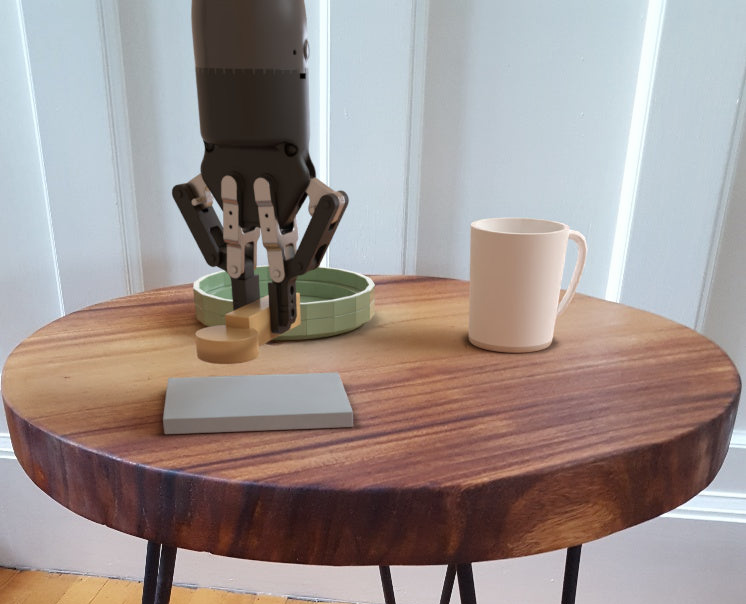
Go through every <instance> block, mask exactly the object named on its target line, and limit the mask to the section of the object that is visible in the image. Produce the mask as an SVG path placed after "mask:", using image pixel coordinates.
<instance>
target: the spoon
mask: <svg viewBox="0 0 746 604" xmlns="http://www.w3.org/2000/svg"><path fill="white" fill-rule="evenodd" d="M296 303H297V307H296V308H297V317H296V321H295V323H293V324H291V328H290V329H289V330H291V329H292V328H294V327H296V326H298V325H300V324H301V317H300V293H296ZM225 322H226V325H218V326H211V327H209V326H207V327H203V328H201V329H198V330H197V331H195V334H194V336H195V346H196V347H195V348H196V356H197V359H198V360H200V361H202V362H205V363H207V364H208V363H209V364H215V365H216V364H217V365H236V364H243V363H247V362H251V361H253V360H256V359H257V358H258V357H259V355H260V347H261V346H263V345H265V344H266V343H267V344H268V342H270V341H273V340H272V339H274V338H276V337H278V336H280V335H281V334H275V333H272V331H271V321H270V308H269V296H268V295H267V296H265V297H263V298H261V299H258V300H256V301H254V302H252V303H250V304H247V305H245V306H243V307H241V308H239V309H237V310H234V311H232V312H230V313H228V314H226V315H225ZM289 330H288V331H289ZM286 332H287V331H286ZM284 333H285V332H284Z"/></svg>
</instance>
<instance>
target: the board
mask: <svg viewBox="0 0 746 604" xmlns="http://www.w3.org/2000/svg"><path fill="white" fill-rule="evenodd" d="M165 392H166V393H165V400H164V407H163V415H162V422H163V423H162V425H163V432H164V435H186V434H188V435H189V434H209V433H211V434H212V433H213V434H214V433H234V432H261V431H263V432H264V431H285V430H286V431H287V430H288V431H289V430H313V429H336V428H337V429H338V428H354V411H353V407H352V405H351V403H350V400H349V397H348V395H347V392H346V389H345V386H344V384H343V380H342V378H341V376H340V373H339V372H337V371H335V372H309V373H308V372H307V373H305V372H304V373H278V374H277V373H275V374H274V373H273V374H247V375H246V374H245V375H218V376H217V375H216V376H213V375H211V376H185V377H184V376H183V377H181V376H180V377H168V378H167V383H166V391H165Z"/></svg>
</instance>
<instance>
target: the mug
mask: <svg viewBox="0 0 746 604" xmlns="http://www.w3.org/2000/svg"><path fill="white" fill-rule="evenodd" d="M469 233H470V236H469V237H470V241H469V243H470V244H469V290H468V291H469V292H468V293H469V295H468V340H469V342H470V343H471V344H472V345H473V346H475V347H477V348H480V349H483V350H487V351H492V352H498V353H499V352H500V353H512V354H513V353H514V354H515V353H517V354H518V353H519V354H522V353H532V352H533V353H534V352H538V351H542V350H545V349H547V348H549V347H550V345H551V344H552V342H553V338H554V331H555V325H556V319H558V318H559V317H560V316H561V315H562V314H563V313H564V312H565V311H566V310H567V308H568V307H569V304H570V303H571V301H572V300H573V298H574V296H575V294H576V291H577V289H578V287H579V284H580V282H581V278H582V277H583V272H584V269H585V267H586V262H587V258H588V257H587V255H588V251H589V250H588V245H587V240H586V239H587V238H586V237H585V236H584V235H583V234H582V233H581V232H580V231H577V230H574V229H571V227H570V226H569V225H568V224H566V223H564V222H560V221H557V220H549V219H543V218H535V217H534V218H532V217H492V218H491V217H490V218H483V219H478V220H474V221H473V222H471V223H470V231H469ZM569 240H571V241H573V242H574V243H575V244H576V246H577V258H576V263H575V266H574V270H573V273H572V276H571V280H570V281H569V284H568V287H567V289H566V291H565V294H564V295H563V297H562V299H561V300H560V302H559V298H560V294H561V288H562V281H563V275H564V269H565V262H566V257H567V250H568V242H569Z"/></svg>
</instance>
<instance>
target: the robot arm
mask: <svg viewBox="0 0 746 604" xmlns="http://www.w3.org/2000/svg"><path fill="white" fill-rule="evenodd" d="M190 20H191V21H190V22H191V23H190V24H191V36H192V37H191V38H192V47H193V49H192V50H193V61H194V73H195V85H196V95H197V96H196V97H197V107H198V120H199V121H198V122H199V133H200V136H201V139H202V143H203V145H204V151H203V157H202V161H201V163H200V166H199V167H200V169H199V170H200V173H199V174H197V175H195V177H193V178H192V179H190V180H189V181H187V182H183V183H179V184H175V185H174V186H173V187H172V189H171V196H172V198H173V200H174V202H175V204H176V206H177V208H178V211H179V212H180V214H181V216H182V218H183V220H184V221H185V223H186V226H187V228H188V229H189V232H190V233H191V235H192V238H193V239H194V241H195V243H196V245H197V247H198V249H199V251H200V253H201V255H202V256H203V258H204V260H205V262H206V264H207V265H208V266H210V267H211V268H216V267H217V268H219V269H221V271H223V270H224V271H226V272H227V273H228V274H229V276H230V278H231V285H232V299H233V311H234V310H237V309H239V308H241V307H243V306H245V305H247V304H250V303H252V302H254V301H256V300H258V299H260V287H259V275H257V274H254V271H255V269H256V267H257V266H258V241H259V239H260V237H261V243H262V246H263V247H264V249H265V250H266V256H267V263H268V264H267V265H269V273H270V277H271V279H272V281H271V282H268V296H269V308H270V321H271V331H272V333H275V334H283V333H284V332H286V331H288V330H289V329H290V328H291V324H293V323H295V321H296V317H297V308H296V307H297V303H296V279H297V277H298V276H301V275H303V274H306V273H307V272H309V271H311V270H315V269H317V268H318V267H319V266H321V263H322V261H323V259H324V257H325V255H326V253H327V250H328V248H329V246H330V244H331V242H332V240H333V238H334V236H335V233H336V231H337V230H338V227H339V225H340V223H341V220H342V218H343V217H344V214H345V212H346V210H347V208H348V206H349V203H350V198H349V195H348V194H347V193H346V191H344V190H342V189H341V190H339V189H338V190H334V189H332V188H331V187H330V186H328V185H327V184H326V183H324V182H323V181H322V180H320V179H319V178H317V169H316V166H315V165H314V162H313V161H312V160H313V159H312V157H311V153H310V140H311V116H310V115H311V114H310V113H311V111H310V110H311V109H310V75H309V59H310V43H309V41H308V18H307V8H306V4H305V0H191V7H190ZM307 198H308V200H309V203H308V206H307V209H308V214H309V215H310V217H311V218H310V220H309V222H308V225H307V227H306V229H305V232H304V233H303V236H302V238H301V240H300V243H299V245H298V246H297V243H298V240H299V228H298V218H297V217H298V216H297V215H298V214H299V212H300V210H301V208H302V206H303V204H305V202H306V199H307ZM214 200H215V202H216V203H217V205H218V206H219V208H220V210H221V211H222V222H221V220H220V218H219V216H218V214H217V212H216V211H215V208H214V206H213V204H214Z"/></svg>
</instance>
